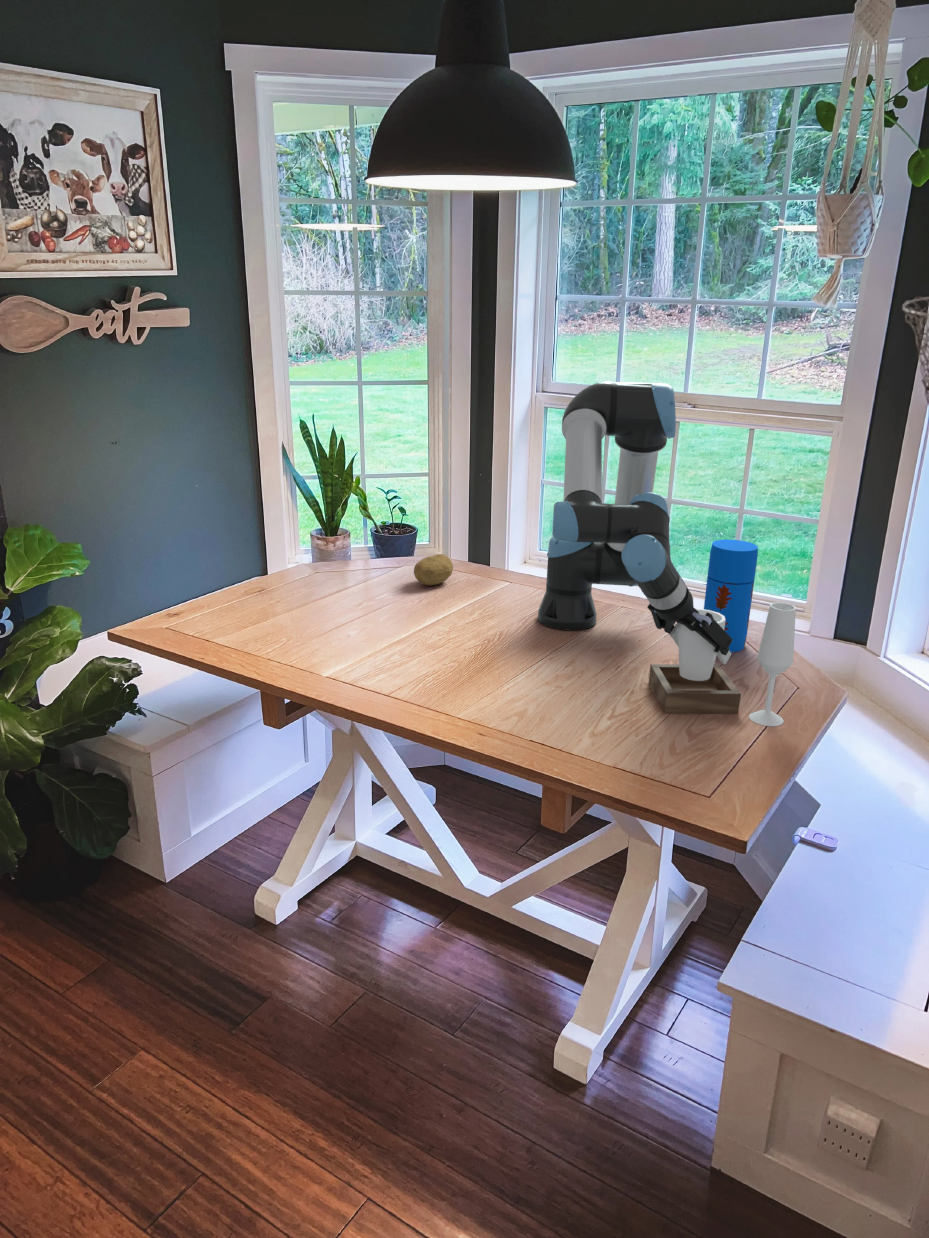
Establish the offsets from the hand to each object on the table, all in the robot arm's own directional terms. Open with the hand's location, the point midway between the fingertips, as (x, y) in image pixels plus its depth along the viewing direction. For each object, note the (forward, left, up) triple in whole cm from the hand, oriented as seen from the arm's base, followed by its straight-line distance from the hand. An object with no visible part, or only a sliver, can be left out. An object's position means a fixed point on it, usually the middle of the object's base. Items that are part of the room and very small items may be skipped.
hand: (705, 651), depth 187 cm
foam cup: (+2, -2, -5) cm, 6 cm away
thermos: (-29, +14, -10) cm, 34 cm away
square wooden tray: (+2, -2, -10) cm, 10 cm away
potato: (-75, -57, -10) cm, 95 cm away
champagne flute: (+11, +10, -10) cm, 18 cm away
